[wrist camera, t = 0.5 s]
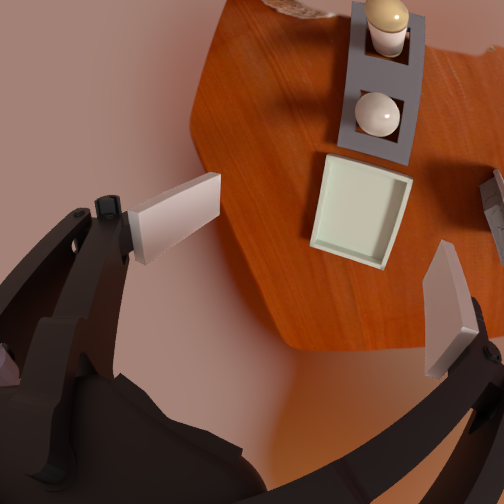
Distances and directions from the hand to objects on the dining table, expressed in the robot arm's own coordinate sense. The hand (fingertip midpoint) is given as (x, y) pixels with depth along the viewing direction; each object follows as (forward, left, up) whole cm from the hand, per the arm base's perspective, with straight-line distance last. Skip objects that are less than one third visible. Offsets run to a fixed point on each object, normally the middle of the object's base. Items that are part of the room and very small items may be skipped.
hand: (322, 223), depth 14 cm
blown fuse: (-6, +1, -22) cm, 23 cm away
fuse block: (-11, +1, -22) cm, 25 cm away
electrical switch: (0, +20, -23) cm, 30 cm away
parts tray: (+7, +1, -22) cm, 23 cm away
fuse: (-16, +1, -22) cm, 28 cm away
